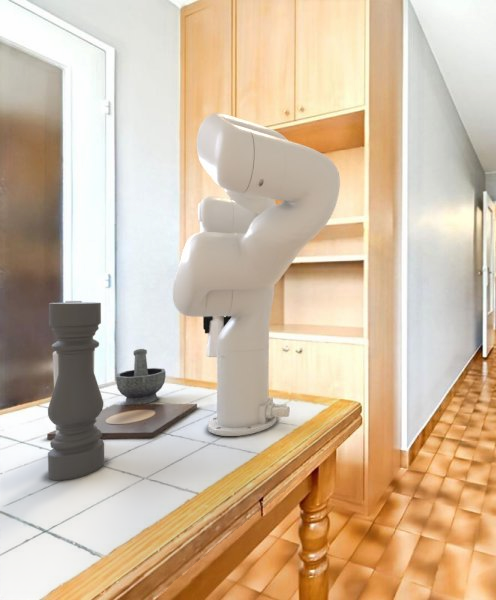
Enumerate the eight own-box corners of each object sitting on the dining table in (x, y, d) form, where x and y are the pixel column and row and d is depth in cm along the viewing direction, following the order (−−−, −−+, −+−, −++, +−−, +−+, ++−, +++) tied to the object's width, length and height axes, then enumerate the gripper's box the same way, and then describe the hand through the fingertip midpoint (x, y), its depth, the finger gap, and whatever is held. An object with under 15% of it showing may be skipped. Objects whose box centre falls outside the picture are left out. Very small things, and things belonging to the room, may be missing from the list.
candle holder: (55, 485, 48) (53, 304, 47) (42, 472, 51) (39, 302, 51) (111, 466, 53) (109, 303, 53) (95, 455, 56) (94, 302, 56)
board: (197, 408, 79) (197, 403, 79) (152, 437, 63) (152, 431, 63) (114, 408, 78) (114, 403, 78) (47, 439, 62) (46, 433, 62)
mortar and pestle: (167, 402, 83) (166, 352, 83) (116, 410, 77) (115, 356, 77) (162, 391, 92) (162, 346, 91) (116, 397, 86) (116, 349, 85)
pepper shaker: (204, 357, 81) (204, 310, 81) (207, 354, 86) (207, 310, 86) (230, 356, 83) (230, 310, 83) (231, 352, 88) (231, 309, 88)
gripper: (258, 259, 89) (258, 331, 89) (190, 258, 88) (191, 331, 88) (247, 256, 81) (248, 334, 82) (173, 255, 80) (174, 334, 80)
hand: (218, 332), depth 85 cm, fingers closed on pepper shaker, 3 cm apart
